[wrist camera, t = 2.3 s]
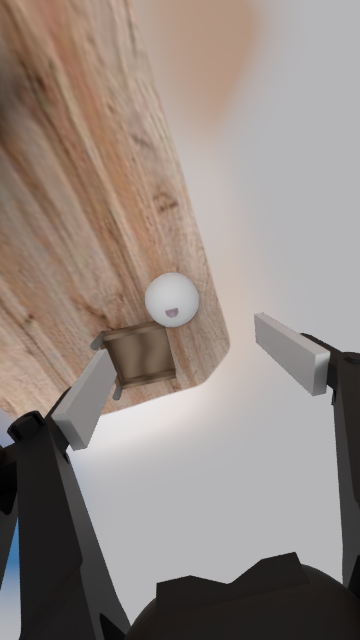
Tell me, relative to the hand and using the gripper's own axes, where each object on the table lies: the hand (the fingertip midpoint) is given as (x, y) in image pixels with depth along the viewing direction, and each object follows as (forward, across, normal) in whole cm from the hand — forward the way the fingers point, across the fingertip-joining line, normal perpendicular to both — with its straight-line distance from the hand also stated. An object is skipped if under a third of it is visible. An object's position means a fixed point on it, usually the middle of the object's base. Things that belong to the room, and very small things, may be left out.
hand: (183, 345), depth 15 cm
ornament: (+25, 0, -1) cm, 25 cm away
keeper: (+25, -11, -13) cm, 30 cm away
